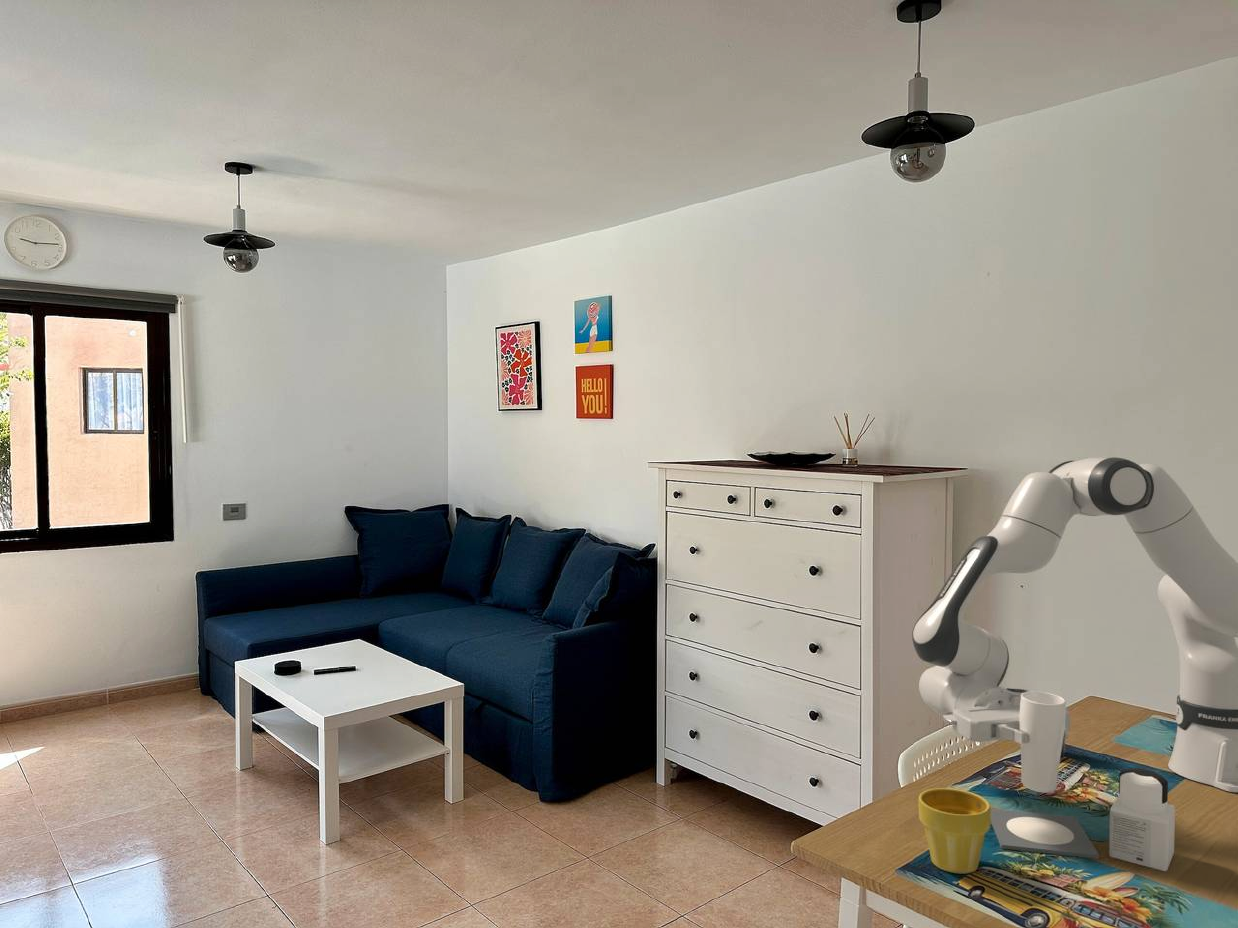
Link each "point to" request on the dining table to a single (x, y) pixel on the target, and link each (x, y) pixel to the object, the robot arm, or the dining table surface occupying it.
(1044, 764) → the drinking glass
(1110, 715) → the dining table surface
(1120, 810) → the container
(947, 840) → the plant pot
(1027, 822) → the mat
